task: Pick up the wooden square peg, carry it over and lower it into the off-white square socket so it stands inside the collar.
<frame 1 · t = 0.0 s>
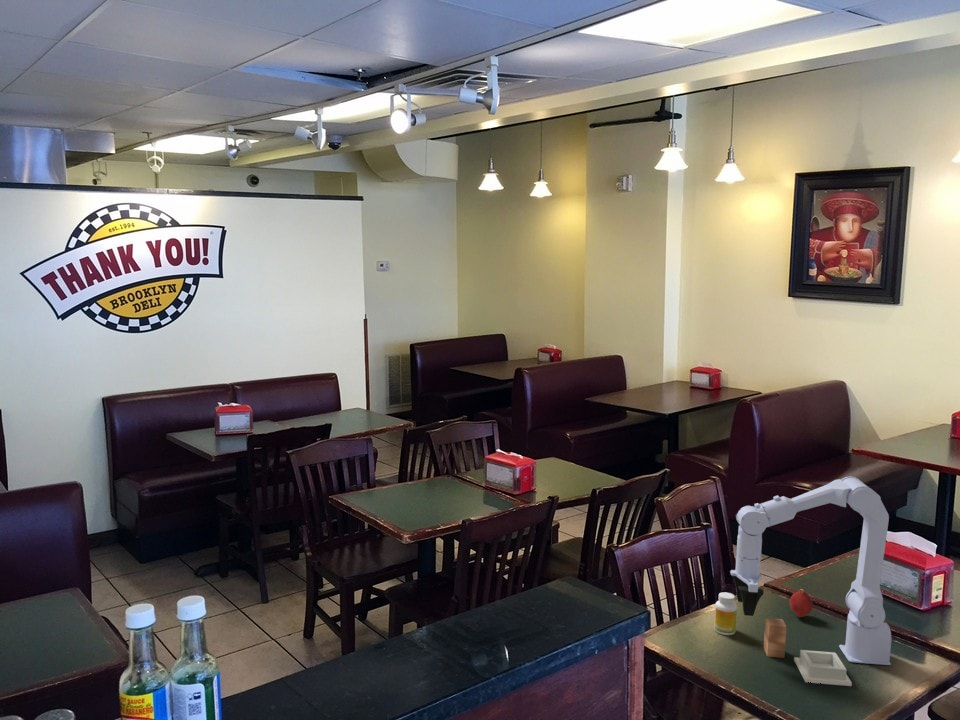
hand: (745, 608, 192), 10 cm above the table, tool pointing down, fingers open, 7 cm apart
socket: (821, 672, 181), on the table
peg: (773, 653, 190), on the table
supplement bottle: (724, 631, 201), on the table
onion: (800, 617, 210), on the table
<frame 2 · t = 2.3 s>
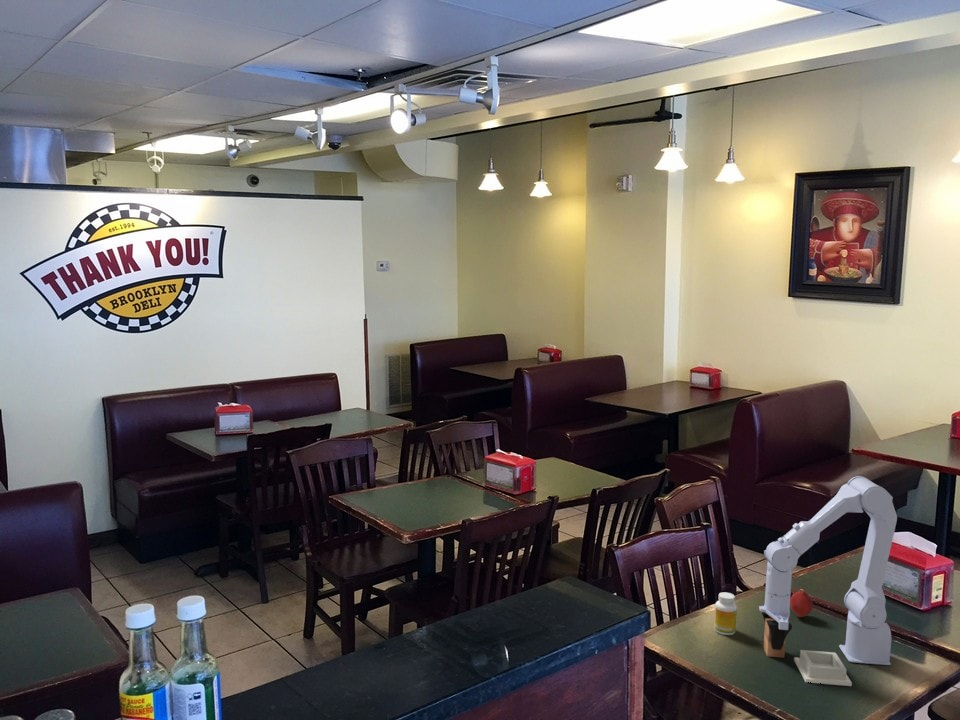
hand: (774, 644, 190), 2 cm above the table, tool pointing down, fingers closed on peg, 4 cm apart
peg: (773, 652, 190), on the table, touching gripper
everything else where it was.
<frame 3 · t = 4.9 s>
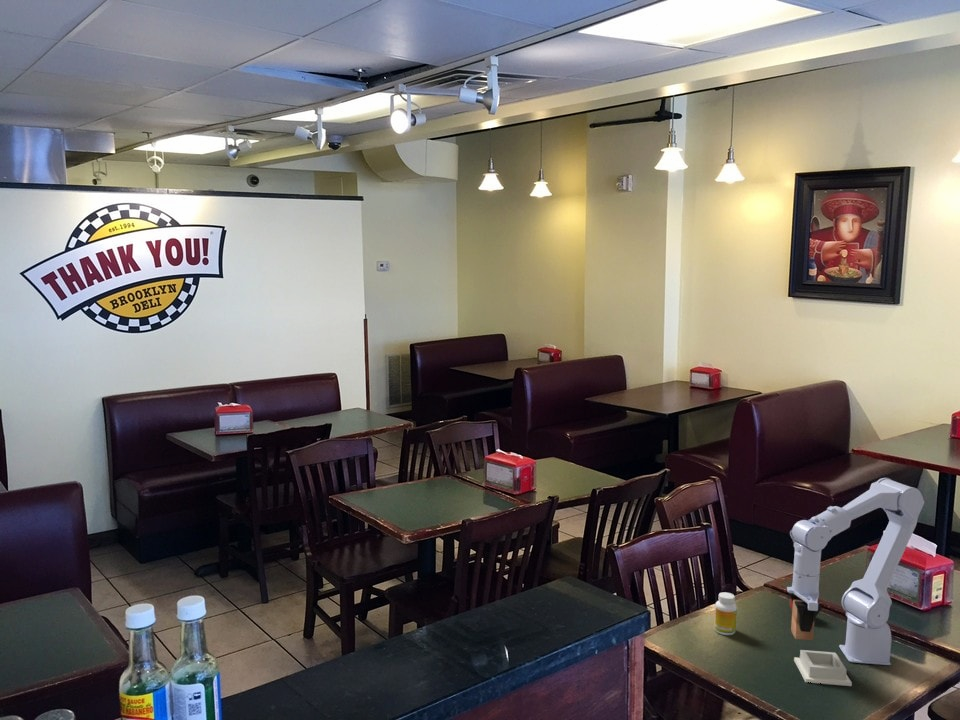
hand: (802, 626, 184), 9 cm above the table, tool pointing down, fingers closed on peg, 4 cm apart
peg: (801, 635, 184), point 7 cm above the table, touching gripper
everything else where it was.
when the fingers open (4 cm above the table, at t = 7.4 s): peg stays where it is, resting on socket.
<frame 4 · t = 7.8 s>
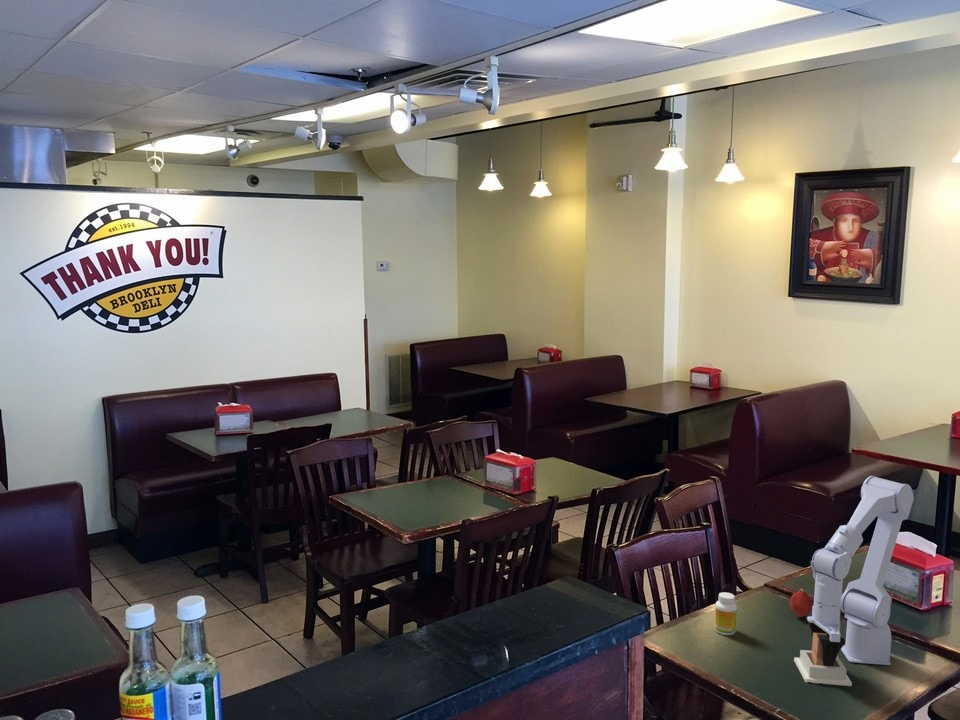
hand: (823, 656, 181), 4 cm above the table, tool pointing down, fingers open, 7 cm apart
peg: (822, 669, 181), point 1 cm above the table, touching socket
everything else where it was.
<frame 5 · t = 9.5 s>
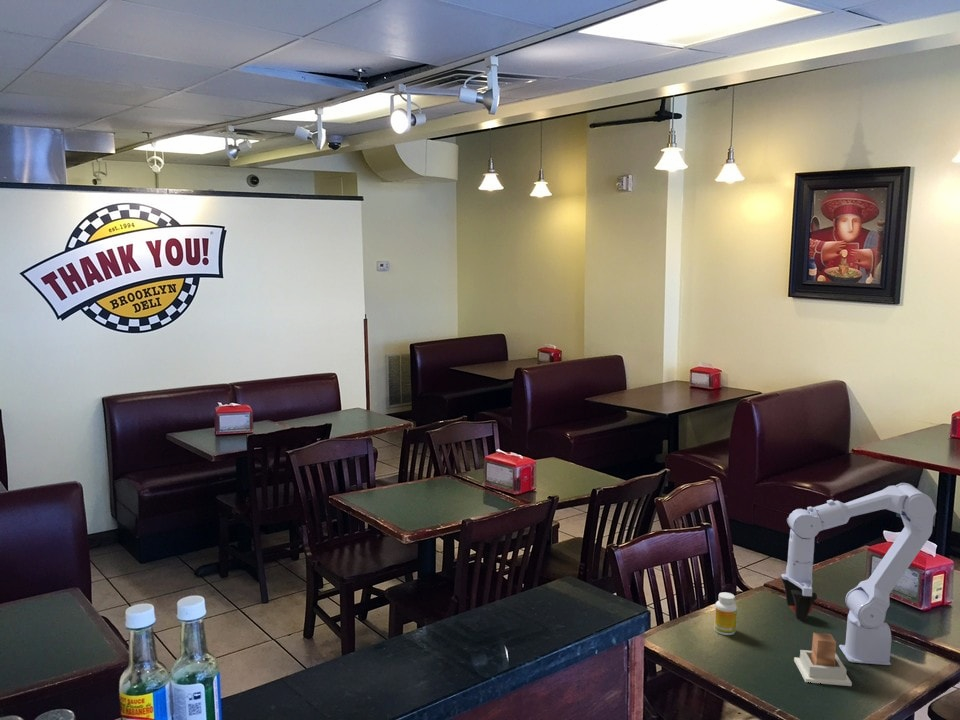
hand: (796, 612, 190), 10 cm above the table, tool pointing down, fingers open, 7 cm apart
nothing on the table moved.
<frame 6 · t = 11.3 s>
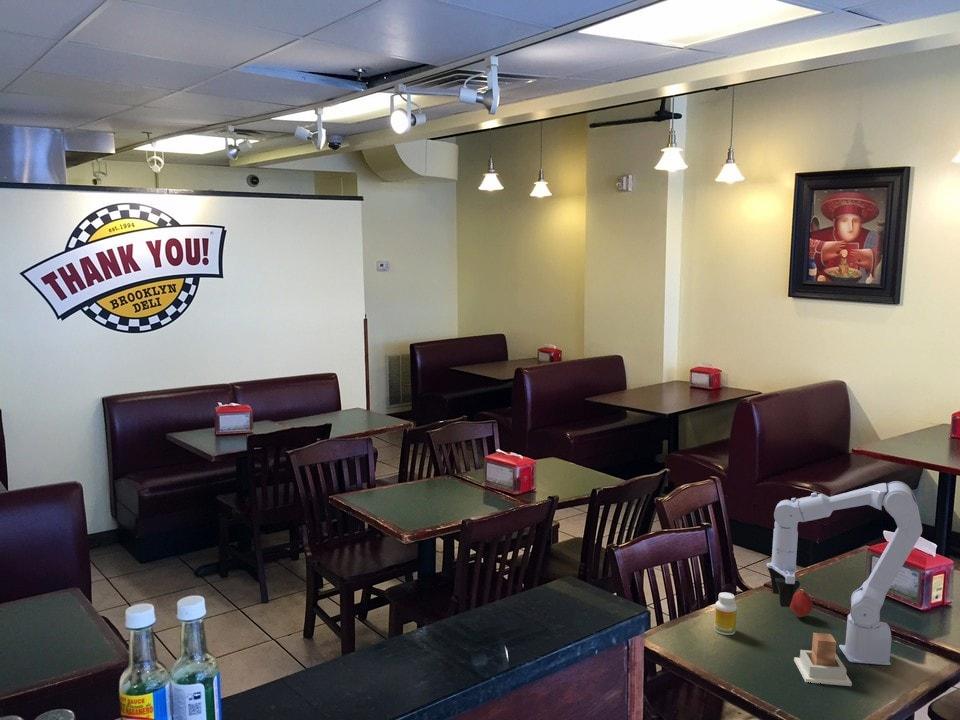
hand: (781, 599, 196), 10 cm above the table, tool pointing down, fingers open, 7 cm apart
nothing on the table moved.
at the end: peg 0.0 cm off-centre on the socket, point 0.8 cm above the socket's base; peg tilted 0°; the gripper is holding nothing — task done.
